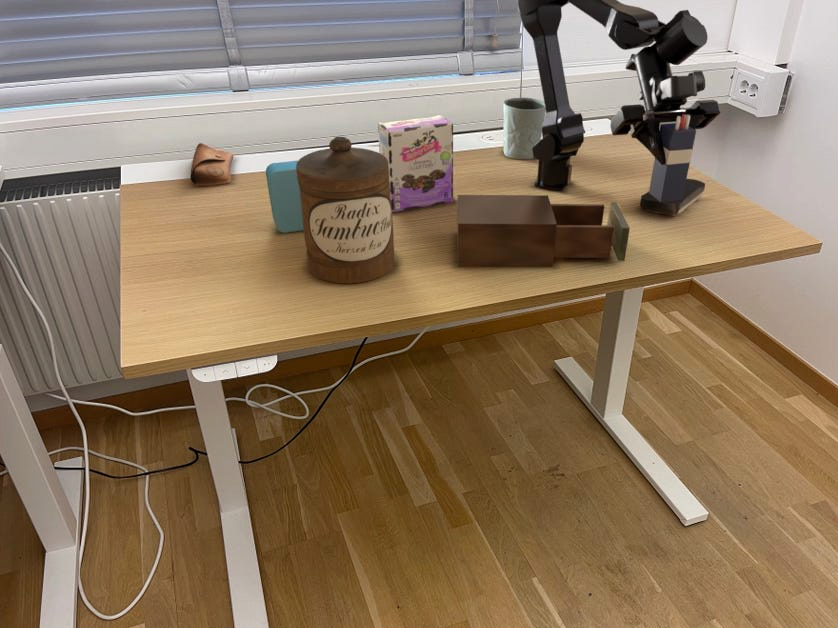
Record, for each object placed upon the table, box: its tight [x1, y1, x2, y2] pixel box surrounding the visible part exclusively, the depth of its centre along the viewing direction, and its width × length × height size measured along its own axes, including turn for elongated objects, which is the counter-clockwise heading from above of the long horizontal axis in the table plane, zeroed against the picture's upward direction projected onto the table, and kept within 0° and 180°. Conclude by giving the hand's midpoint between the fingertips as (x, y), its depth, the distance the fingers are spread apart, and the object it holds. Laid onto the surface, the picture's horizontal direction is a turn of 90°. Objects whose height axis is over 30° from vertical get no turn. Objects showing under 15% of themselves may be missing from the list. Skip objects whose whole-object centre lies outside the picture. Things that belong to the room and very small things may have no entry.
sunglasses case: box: [190, 142, 235, 187], centre depth 156 cm, size 18×7×7 cm
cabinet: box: [456, 194, 557, 268], centre depth 125 cm, size 17×13×8 cm
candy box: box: [377, 115, 454, 213], centre depth 140 cm, size 14×6×16 cm, turn 118°
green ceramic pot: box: [502, 97, 546, 160], centre depth 167 cm, size 10×10×12 cm
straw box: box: [648, 115, 697, 202], centre depth 122 cm, size 4×4×15 cm
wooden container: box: [296, 136, 395, 284], centre depth 116 cm, size 15×15×22 cm
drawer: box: [550, 201, 631, 262], centre depth 126 cm, size 17×11×6 cm
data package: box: [265, 160, 304, 234], centre depth 131 cm, size 12×4×12 cm, turn 112°
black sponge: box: [639, 178, 706, 217], centre depth 145 cm, size 16×8×4 cm, turn 143°
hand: (676, 162), depth 122 cm, fingers closed on straw box, 4 cm apart
